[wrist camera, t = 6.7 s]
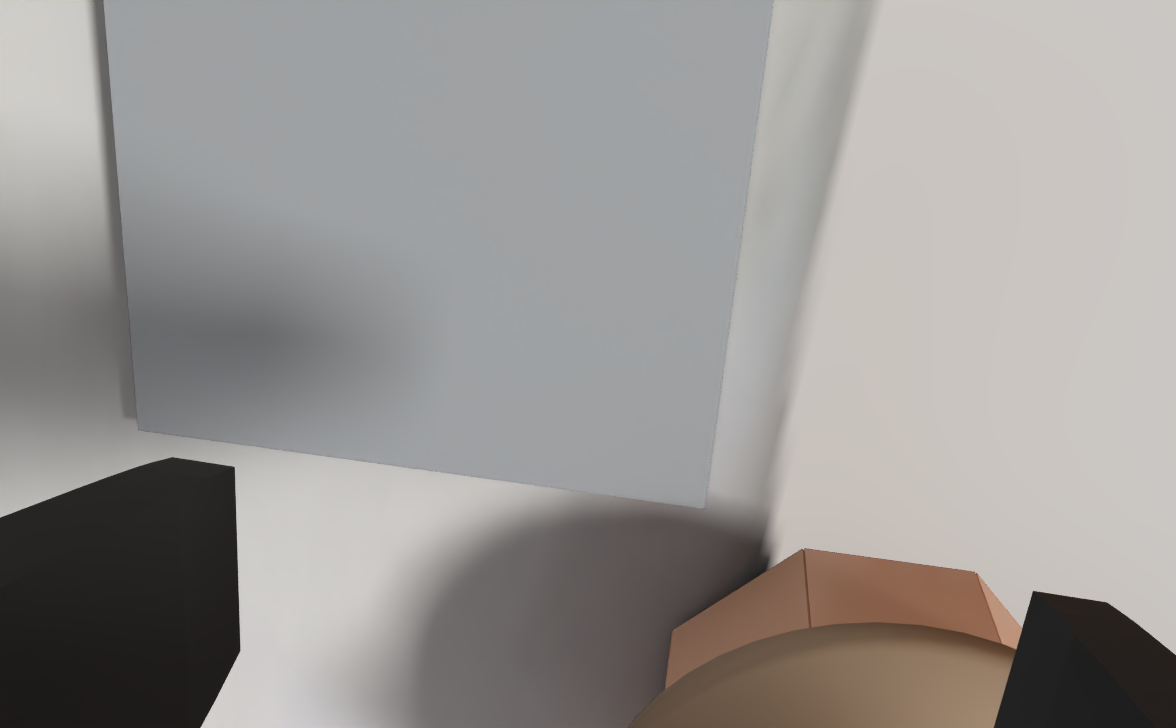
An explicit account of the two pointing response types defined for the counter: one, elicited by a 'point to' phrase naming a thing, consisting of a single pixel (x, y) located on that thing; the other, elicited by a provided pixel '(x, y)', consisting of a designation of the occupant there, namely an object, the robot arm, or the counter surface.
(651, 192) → the mat
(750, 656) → the lid
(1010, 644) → the bowl
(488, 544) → the counter surface
